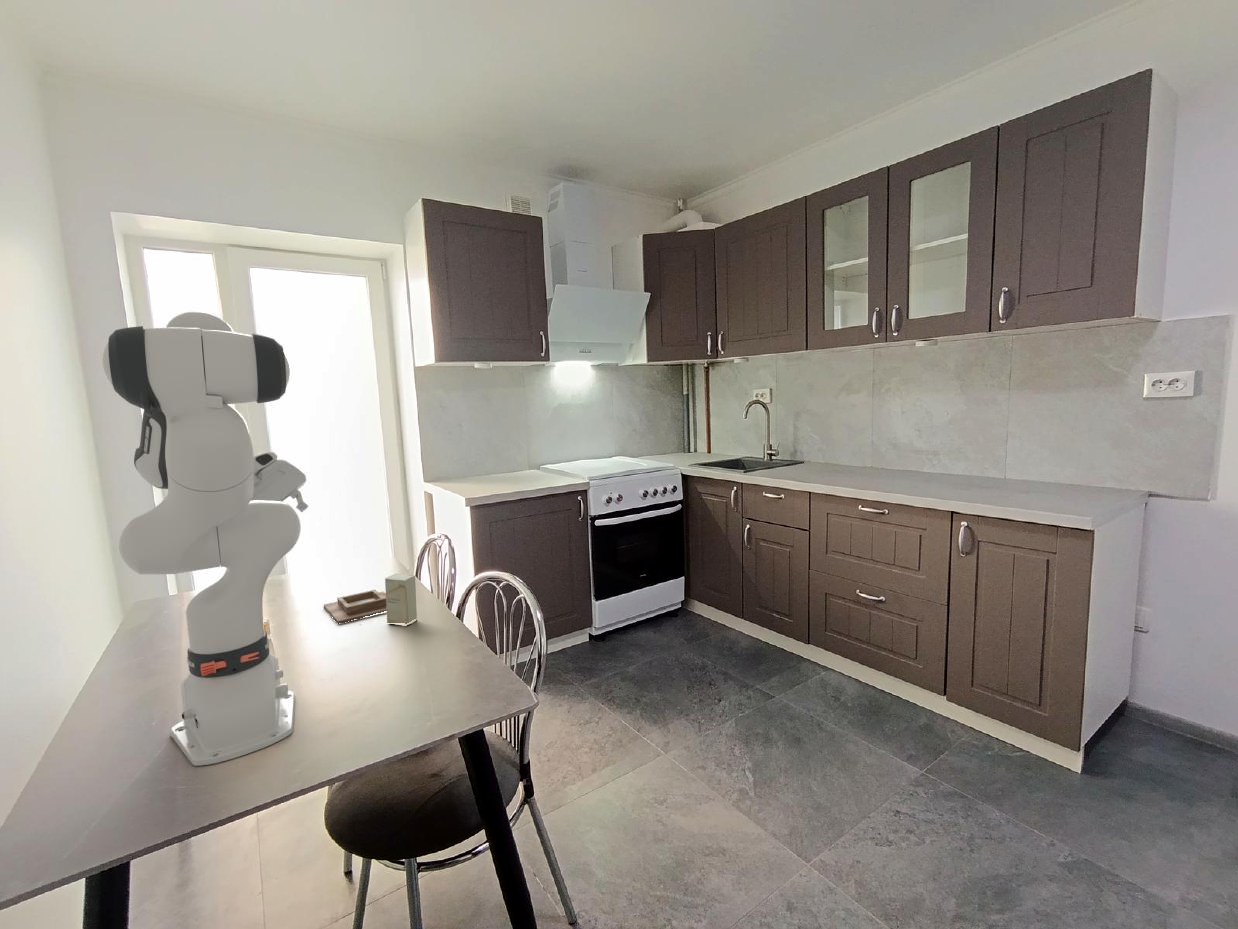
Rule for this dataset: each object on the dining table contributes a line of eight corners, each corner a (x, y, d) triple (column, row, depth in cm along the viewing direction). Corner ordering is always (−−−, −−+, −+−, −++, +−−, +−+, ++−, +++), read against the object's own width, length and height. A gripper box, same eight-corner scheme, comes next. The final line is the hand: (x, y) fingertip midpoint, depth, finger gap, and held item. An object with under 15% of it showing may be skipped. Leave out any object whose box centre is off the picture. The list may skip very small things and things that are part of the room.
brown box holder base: (401, 609, 156) (400, 598, 156) (338, 625, 146) (337, 613, 146) (383, 594, 169) (382, 584, 168) (323, 608, 159) (322, 597, 158)
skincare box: (386, 625, 145) (383, 578, 144) (398, 618, 150) (394, 573, 148) (407, 627, 144) (404, 580, 142) (418, 620, 148) (415, 575, 146)
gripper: (194, 505, 114) (250, 551, 117) (278, 447, 129) (326, 489, 131) (191, 516, 119) (245, 560, 121) (273, 458, 133) (320, 499, 136)
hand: (288, 523), depth 126 cm, fingers open, 8 cm apart
